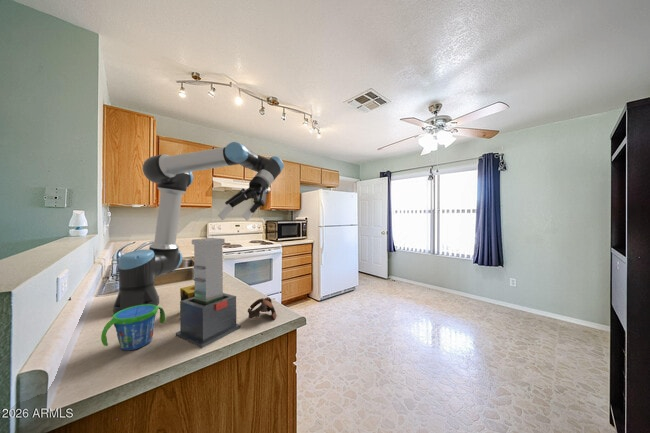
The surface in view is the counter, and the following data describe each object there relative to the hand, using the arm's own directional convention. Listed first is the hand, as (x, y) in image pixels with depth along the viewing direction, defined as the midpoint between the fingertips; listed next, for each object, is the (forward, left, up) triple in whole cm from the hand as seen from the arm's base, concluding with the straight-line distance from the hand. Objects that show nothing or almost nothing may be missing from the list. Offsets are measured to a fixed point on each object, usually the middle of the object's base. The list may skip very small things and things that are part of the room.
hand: (232, 217), depth 88 cm
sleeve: (+9, -7, -38) cm, 39 cm away
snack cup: (+9, -27, -38) cm, 47 cm away
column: (+9, -7, -30) cm, 32 cm away
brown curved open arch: (+4, +11, -38) cm, 40 cm away
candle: (-10, -13, -38) cm, 42 cm away
